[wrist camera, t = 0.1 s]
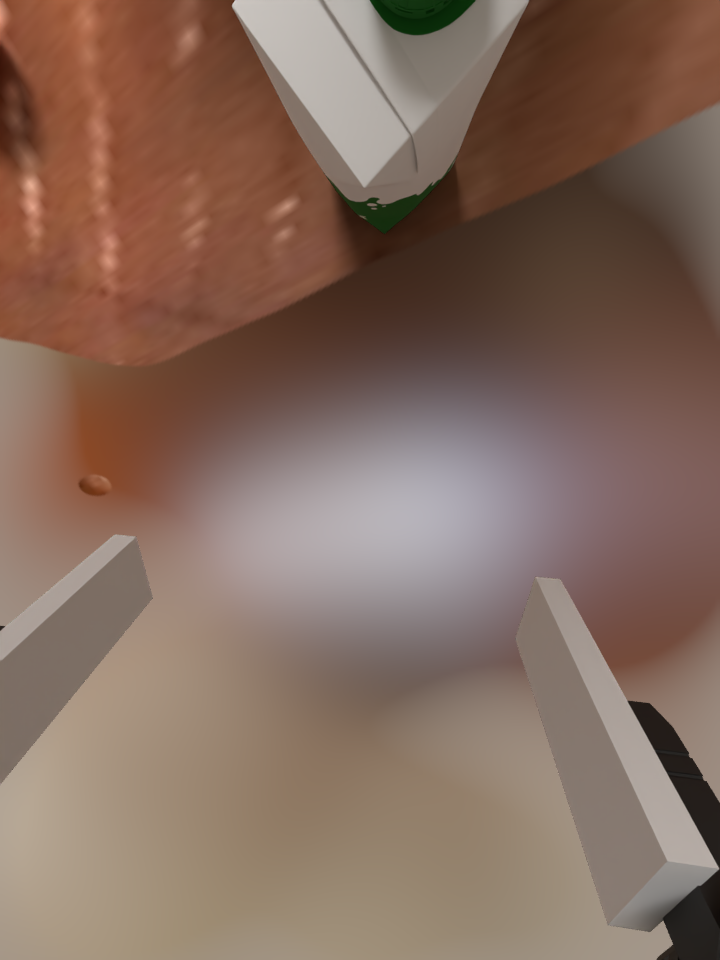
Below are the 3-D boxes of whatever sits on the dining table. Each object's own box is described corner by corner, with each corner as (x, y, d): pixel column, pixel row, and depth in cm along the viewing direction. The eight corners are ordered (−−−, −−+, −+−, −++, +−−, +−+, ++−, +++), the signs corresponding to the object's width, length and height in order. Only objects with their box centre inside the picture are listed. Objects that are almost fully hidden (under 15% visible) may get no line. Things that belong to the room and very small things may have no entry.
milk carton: (471, 161, 29) (580, -47, 11) (381, 253, 32) (355, 206, 15) (398, 46, 27) (390, -450, 9) (310, 158, 30) (173, -38, 12)
